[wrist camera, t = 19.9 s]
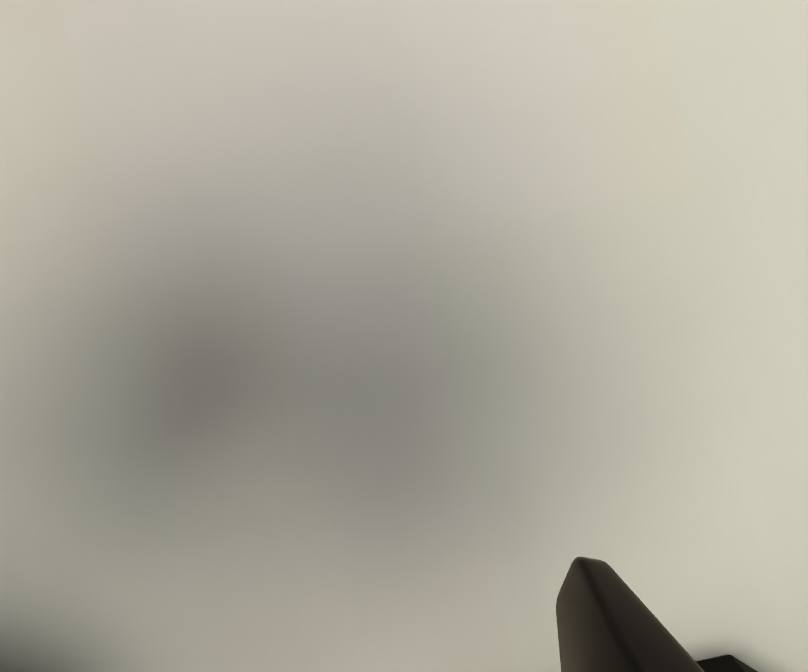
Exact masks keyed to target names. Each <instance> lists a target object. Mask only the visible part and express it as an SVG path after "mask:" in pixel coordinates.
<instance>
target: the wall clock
mask: <svg viewBox="0 0 808 672" xmlns="http://www.w3.org/2000/svg"><path fill="white" fill-rule="evenodd" d="M696 663H697V664H698V665H699V666H700V667H701V668H702V669H703V670H704V672H757V671H755V670H754V669H752V668H750V667H749V666H747V665H746V664H744V663H742V662H741V661H739V660H738V659H736V658H734V657H733V656H731V655H728V656H723V657H718V658H714V659H709V660H704V661H700V662H696Z"/></svg>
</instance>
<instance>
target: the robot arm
mask: <svg viewBox="0 0 808 672" xmlns="http://www.w3.org/2000/svg"><path fill="white" fill-rule="evenodd" d="M556 616H557V627H558V639H559V650H560V662H561V672H704V670H703V669H702V668H701V667H700V666H699V665H698V664H697V663H696V662H695V660H694V659H693V658H692V657H691V656H690V655H689V654H688V653H687V652H686V650H685V649H684V648H683V647H682V646H681V645H680V644H679V643H678V641H677V640H676V639H675V638H674V637H673V636H672V635H671V634H670V633H669V631H668V630H667V629H666V628H665V627H664V626H663V625H662V624H661V623H660V621H659V620H658V619H657V618H656V617H655V616H654V615H653V614H652V613H651V611H650V610H649V609H648V608H647V607H646V606H645V605H644V604H643V602H642V601H641V600H640V599H639V598H638V597H637V596H636V595H635V594H634V592H633V591H632V590H631V589H630V588H629V587H628V586H627V585H626V584H625V582H624V581H623V580H622V579H621V578H620V577H619V576H618V575H617V573H616V572H615V571H614V570H613V569H612V568H611V567H610V566H609V565H608V564H607V563H606V562H604V561H601V560H596V559H591V558H585V557H577V558H576V559H575V560H574V561H573V562H572V564H571V566H570V569H569V571H568V573H567V575H566V578H565V580H564V582H563V585H562V587H561V589H560V591H559V594H558V597H557V603H556Z"/></svg>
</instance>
